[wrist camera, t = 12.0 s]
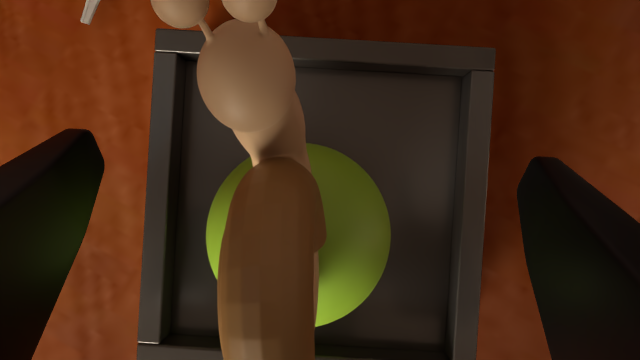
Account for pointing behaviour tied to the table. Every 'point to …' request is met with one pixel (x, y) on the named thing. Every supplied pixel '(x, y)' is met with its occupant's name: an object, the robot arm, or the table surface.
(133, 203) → the table surface
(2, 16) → the table surface
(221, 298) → the green two-tone figurine
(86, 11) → the key chain
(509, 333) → the table surface
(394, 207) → the square tray
